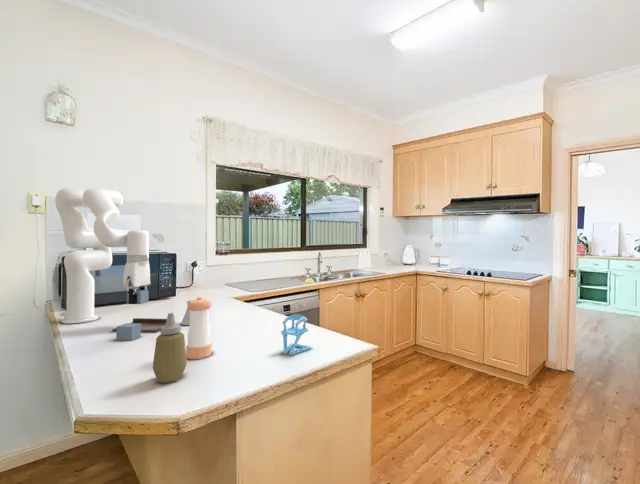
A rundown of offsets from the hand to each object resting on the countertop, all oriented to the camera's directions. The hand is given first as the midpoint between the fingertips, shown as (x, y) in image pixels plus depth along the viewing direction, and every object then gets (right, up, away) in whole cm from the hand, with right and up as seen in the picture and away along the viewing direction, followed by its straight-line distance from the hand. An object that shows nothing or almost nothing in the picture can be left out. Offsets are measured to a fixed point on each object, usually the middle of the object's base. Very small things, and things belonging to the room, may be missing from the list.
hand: (137, 302), depth 142 cm
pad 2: (+7, -11, -14) cm, 19 cm away
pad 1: (0, 0, 0) cm, 0 cm away
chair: (+72, -12, -26) cm, 78 cm away
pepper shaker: (+42, -11, -31) cm, 54 cm away
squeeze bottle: (+44, -11, -49) cm, 67 cm away
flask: (+18, -11, +8) cm, 23 cm away
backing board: (+3, -11, 0) cm, 11 cm away
